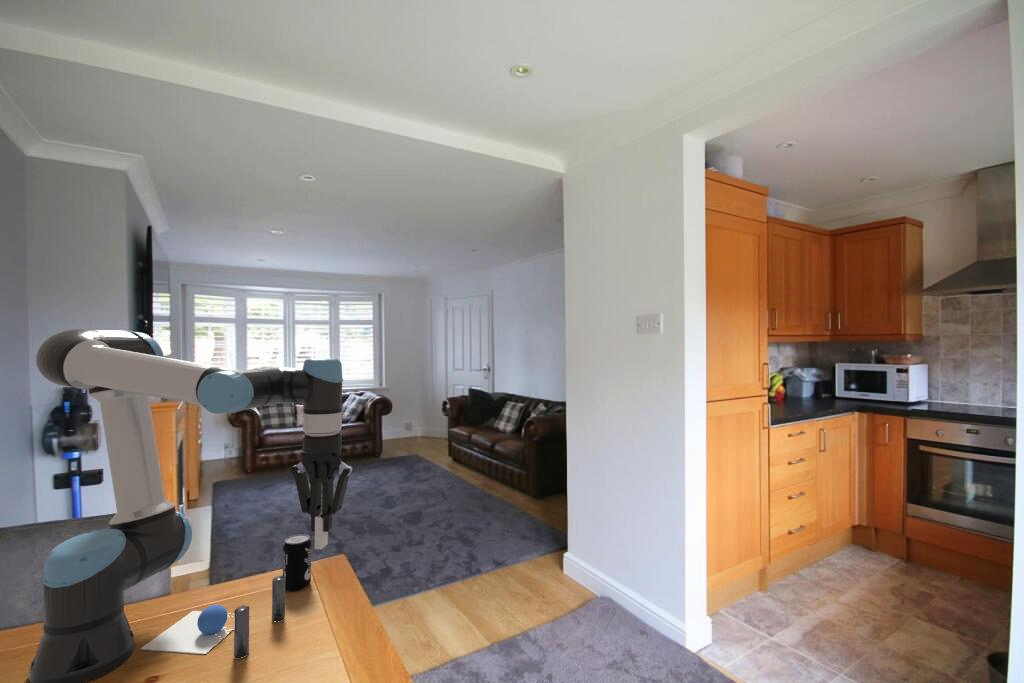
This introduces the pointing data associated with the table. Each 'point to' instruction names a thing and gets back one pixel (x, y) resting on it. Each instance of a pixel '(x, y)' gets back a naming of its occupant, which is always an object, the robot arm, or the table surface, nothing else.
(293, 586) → the beverage can
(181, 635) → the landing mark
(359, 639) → the table surface
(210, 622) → the ball
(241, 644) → the post
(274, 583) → the post
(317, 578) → the table surface
